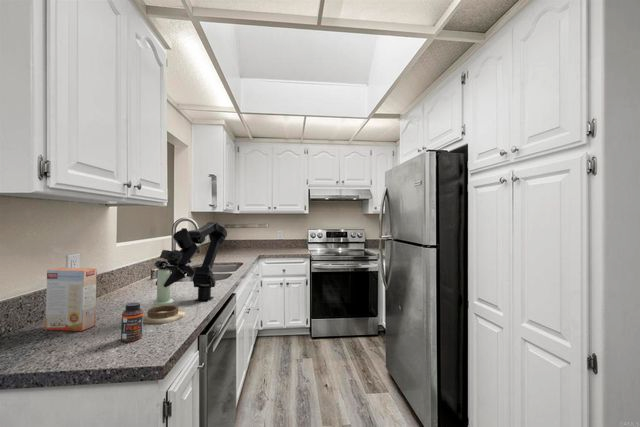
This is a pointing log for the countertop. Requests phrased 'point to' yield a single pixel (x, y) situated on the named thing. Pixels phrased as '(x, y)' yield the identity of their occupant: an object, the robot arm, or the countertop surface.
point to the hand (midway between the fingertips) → (160, 285)
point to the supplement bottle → (132, 322)
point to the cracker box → (70, 299)
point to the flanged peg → (163, 288)
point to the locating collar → (163, 314)
